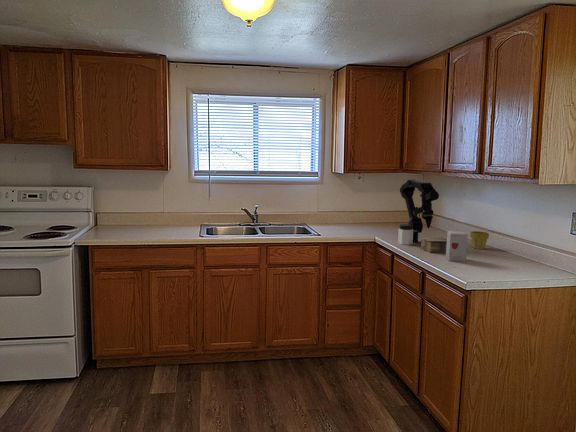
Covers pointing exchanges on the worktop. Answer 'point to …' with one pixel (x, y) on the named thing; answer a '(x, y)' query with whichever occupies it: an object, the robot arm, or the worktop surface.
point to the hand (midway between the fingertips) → (428, 228)
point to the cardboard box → (433, 246)
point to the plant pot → (479, 239)
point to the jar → (405, 234)
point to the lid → (435, 239)
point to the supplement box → (456, 246)
